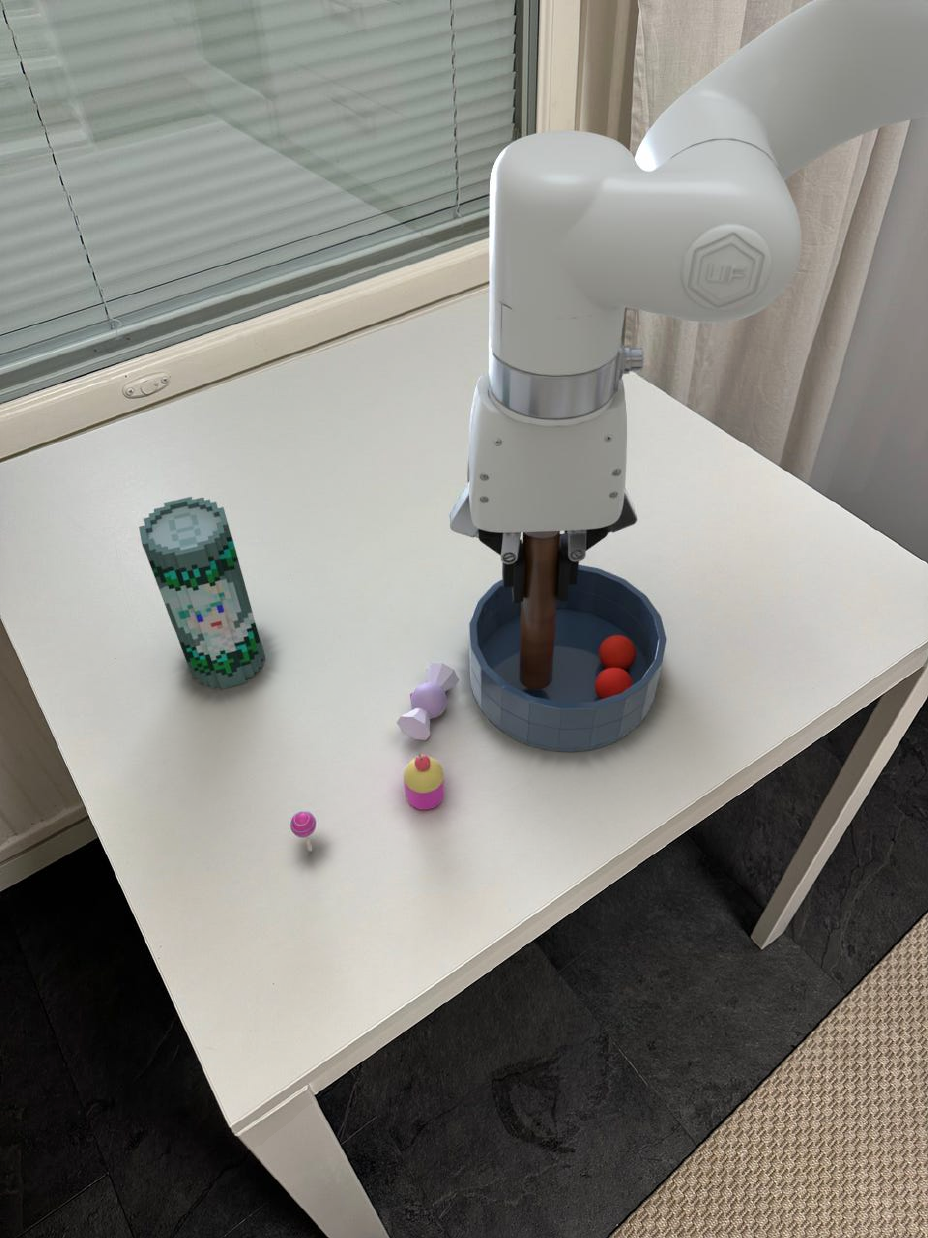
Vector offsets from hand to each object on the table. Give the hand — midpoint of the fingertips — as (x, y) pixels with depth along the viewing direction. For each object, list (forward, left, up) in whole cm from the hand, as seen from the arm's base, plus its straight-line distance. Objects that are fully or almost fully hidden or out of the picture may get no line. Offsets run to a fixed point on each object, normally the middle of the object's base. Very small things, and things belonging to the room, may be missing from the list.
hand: (538, 587), depth 66 cm
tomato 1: (-7, 0, -8) cm, 11 cm away
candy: (+11, +9, -11) cm, 18 cm away
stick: (0, +2, -8) cm, 9 cm away
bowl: (-2, 0, -10) cm, 11 cm away
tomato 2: (-6, +3, -8) cm, 11 cm away
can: (+26, -3, -11) cm, 28 cm away
